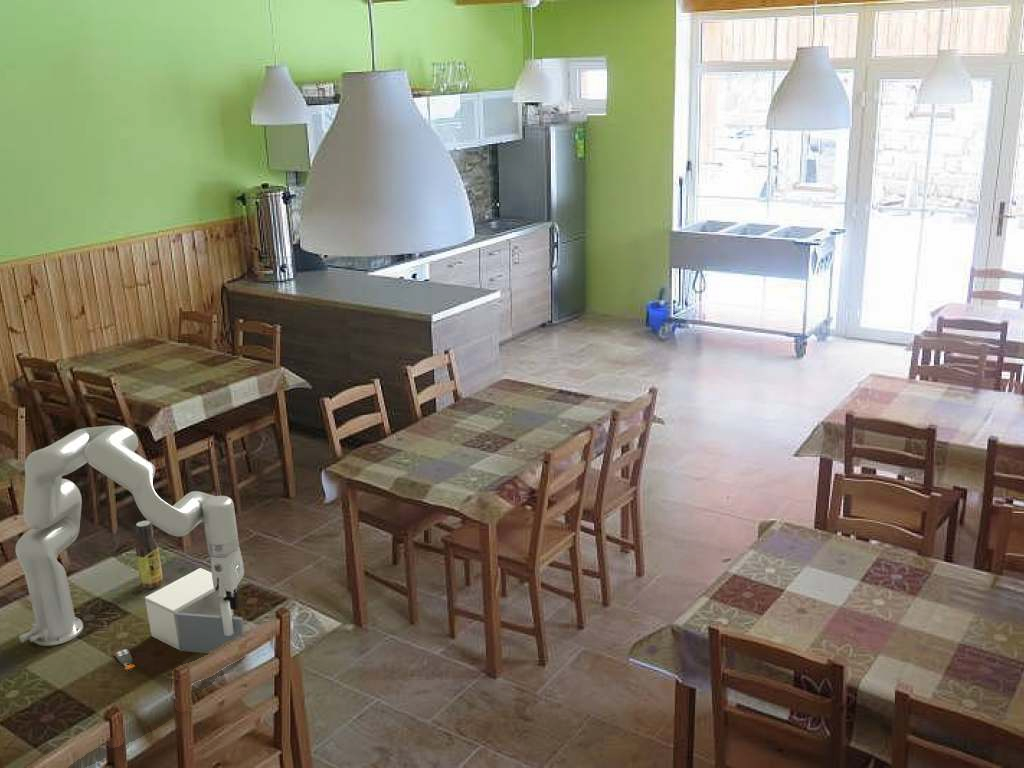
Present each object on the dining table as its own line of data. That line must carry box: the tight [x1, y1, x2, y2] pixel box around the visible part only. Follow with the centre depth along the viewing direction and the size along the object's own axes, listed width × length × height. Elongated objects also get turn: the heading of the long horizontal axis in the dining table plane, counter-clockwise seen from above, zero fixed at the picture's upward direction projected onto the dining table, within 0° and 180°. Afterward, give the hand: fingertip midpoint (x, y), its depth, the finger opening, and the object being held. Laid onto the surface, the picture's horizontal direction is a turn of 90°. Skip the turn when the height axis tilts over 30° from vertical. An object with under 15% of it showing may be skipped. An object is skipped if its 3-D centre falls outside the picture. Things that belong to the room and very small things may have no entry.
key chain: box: [114, 648, 136, 671], centre depth 247 cm, size 13×4×2 cm, turn 37°
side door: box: [174, 600, 245, 654], centre depth 247 cm, size 19×4×16 cm, turn 80°
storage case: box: [144, 567, 235, 651], centre depth 261 cm, size 18×12×12 cm, turn 145°
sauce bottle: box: [135, 520, 164, 590], centre depth 282 cm, size 7×6×20 cm
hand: (231, 607), depth 247 cm, fingers closed
